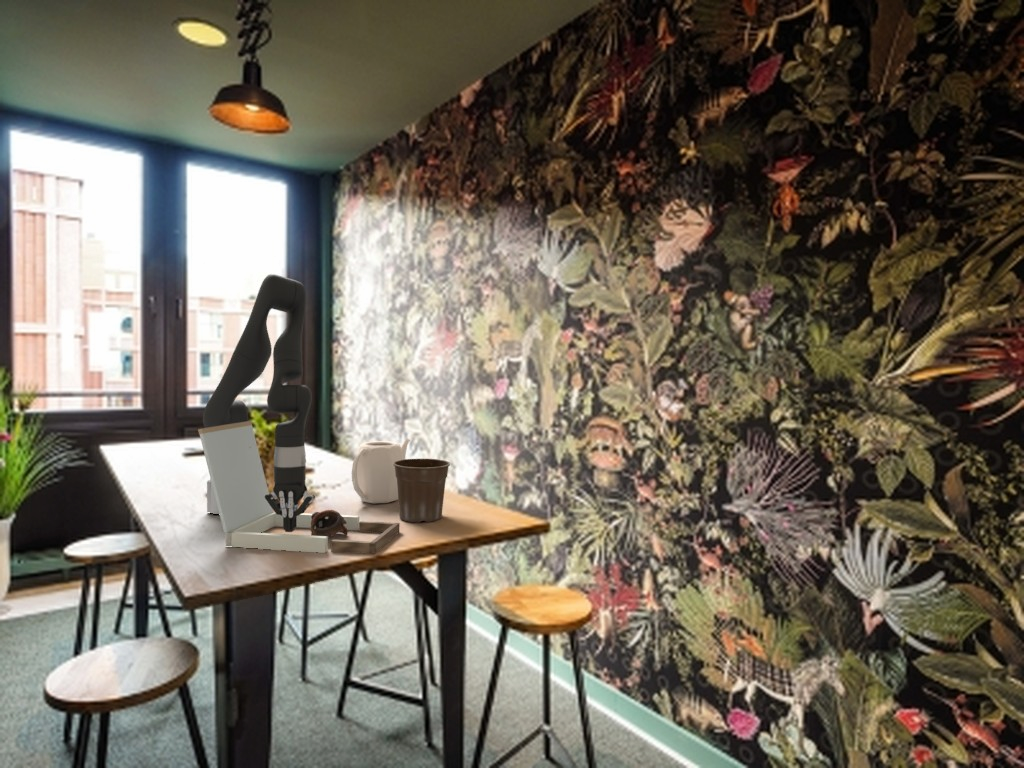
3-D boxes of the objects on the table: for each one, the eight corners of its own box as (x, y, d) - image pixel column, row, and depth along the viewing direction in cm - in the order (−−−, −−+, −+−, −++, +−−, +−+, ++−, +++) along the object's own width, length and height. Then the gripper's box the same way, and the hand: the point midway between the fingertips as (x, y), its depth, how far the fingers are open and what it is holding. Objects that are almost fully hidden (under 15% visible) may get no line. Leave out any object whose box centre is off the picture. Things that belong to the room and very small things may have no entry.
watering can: (426, 495, 204) (427, 440, 203) (371, 511, 181) (371, 449, 180) (391, 490, 212) (392, 436, 211) (334, 504, 188) (334, 444, 188)
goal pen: (331, 551, 142) (331, 541, 141) (361, 530, 160) (361, 521, 160) (374, 553, 140) (374, 543, 140) (399, 532, 158) (399, 522, 158)
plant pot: (458, 514, 179) (459, 460, 178) (433, 527, 163) (434, 468, 163) (410, 509, 184) (411, 456, 184) (382, 521, 169) (382, 464, 168)
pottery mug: (358, 538, 154) (352, 515, 150) (329, 562, 148) (321, 538, 144) (328, 519, 161) (321, 496, 156) (298, 541, 154) (291, 518, 150)
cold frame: (198, 545, 145) (197, 428, 144) (247, 523, 165) (247, 420, 165) (324, 552, 140) (325, 432, 139) (359, 528, 161) (359, 423, 160)
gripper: (257, 465, 149) (257, 534, 150) (307, 466, 147) (307, 536, 148) (273, 460, 157) (273, 526, 157) (321, 462, 155) (321, 528, 155)
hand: (290, 531), depth 152 cm, fingers closed
